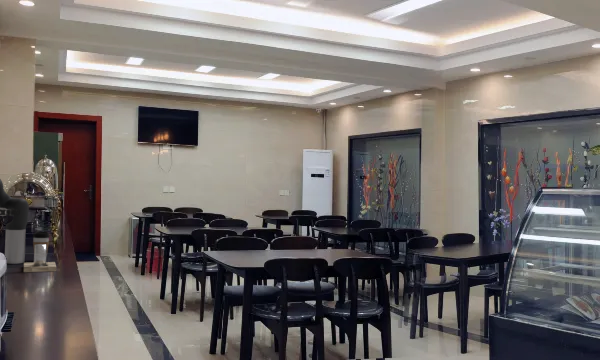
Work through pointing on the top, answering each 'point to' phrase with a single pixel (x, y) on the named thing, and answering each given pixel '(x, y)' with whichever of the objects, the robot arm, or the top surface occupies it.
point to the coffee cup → (41, 238)
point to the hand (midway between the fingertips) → (17, 211)
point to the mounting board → (39, 267)
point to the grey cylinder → (40, 255)
